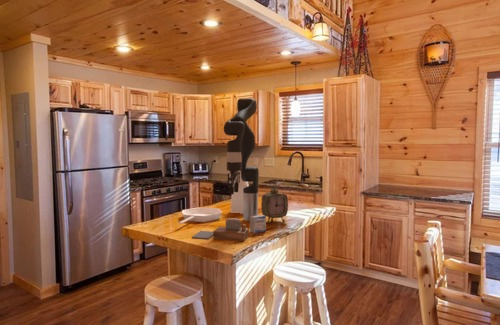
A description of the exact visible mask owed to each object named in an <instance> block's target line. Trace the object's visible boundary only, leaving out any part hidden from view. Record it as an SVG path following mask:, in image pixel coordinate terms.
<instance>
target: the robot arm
mask: <svg viewBox="0 0 500 325" xmlns="http://www.w3.org/2000/svg"><path fill="white" fill-rule="evenodd" d="M256 100H257V99H255V98H238V100H237V103H236V109H237V112H236V113H235V114H234V116H233V117H232V118H230V119H228V120H226V122H225V123H224V125H223V133H224V134H225V135H226V136H235V138H234V139H232V140H228V141H227V144H226V147H227V148H226V171H228V172H229V173H227V182H226V183H227V186H228V194H229V195H231V194H234V192H238V189H239V183H240V175H241V179H242V181H245V182H248V183H249V182H250V183H252V184H249V186H248V187H245V188H244V189H243V214H242V217H243V218H242V220H243V221H245V222H250V216H257V215H259V175H260V172H259V171H260V170H259V168H258V167H257V166H247V164H248V161H249V158H250V156H251V155H252V154H253V152H254V150H255V148H256V135H255V134H254V132H253V129H251V128H250V126H249V124H248V123H247V121H248V120H249V119H250V118H252V116H253V115H255V113H257V109H258V104H257V103H258V102H257V101H256Z"/></svg>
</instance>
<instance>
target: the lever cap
mask: <svg viewBox="0 0 500 325" xmlns="http://www.w3.org/2000/svg"><path fill="white" fill-rule="evenodd" d="M225 227H226V230H230V231H240V230H241V228H242V219H239V218H237V217H234V218H233V217H228V218H227V219H226V220H225Z"/></svg>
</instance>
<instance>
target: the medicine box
mask: <svg viewBox="0 0 500 325" xmlns="http://www.w3.org/2000/svg"><path fill="white" fill-rule="evenodd" d="M264 231H265V232H266V231H267V216H265V215H263V214H258V215H257V216H250V221H249V233H252V234H259V232H260V233H264Z"/></svg>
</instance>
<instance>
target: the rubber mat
mask: <svg viewBox="0 0 500 325" xmlns="http://www.w3.org/2000/svg"><path fill="white" fill-rule="evenodd" d="M211 238H213V231H211V230H210V231H207V230H200V231H198V232H197V233H196V234H194V235H193V236H191V239H201V240H210V239H211Z"/></svg>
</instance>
